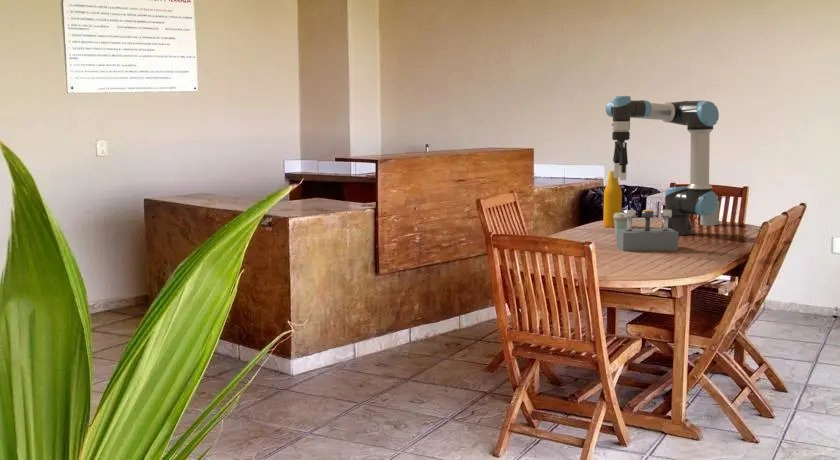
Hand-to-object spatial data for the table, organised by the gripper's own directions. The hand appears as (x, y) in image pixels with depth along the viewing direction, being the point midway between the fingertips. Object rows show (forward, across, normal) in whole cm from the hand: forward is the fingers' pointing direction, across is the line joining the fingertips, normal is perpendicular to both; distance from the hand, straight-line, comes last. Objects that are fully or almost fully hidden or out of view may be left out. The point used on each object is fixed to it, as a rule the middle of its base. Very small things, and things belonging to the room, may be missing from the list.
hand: (619, 178), depth 389 cm
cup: (+30, -68, +61) cm, 97 cm away
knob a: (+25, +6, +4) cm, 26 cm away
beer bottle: (+31, -63, +9) cm, 71 cm away
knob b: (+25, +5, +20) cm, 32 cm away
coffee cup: (+31, -24, +7) cm, 40 cm away
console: (+30, +6, +12) cm, 33 cm away
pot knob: (+25, +6, +12) cm, 28 cm away
